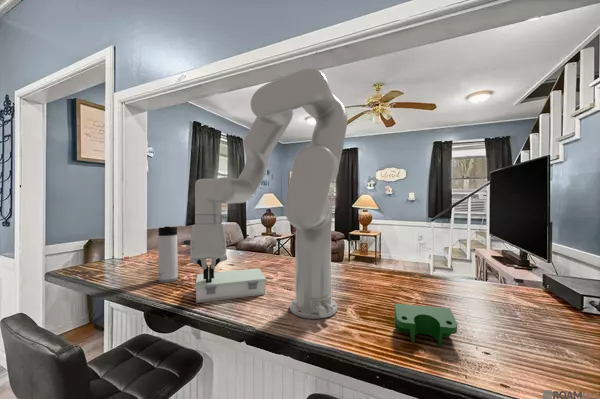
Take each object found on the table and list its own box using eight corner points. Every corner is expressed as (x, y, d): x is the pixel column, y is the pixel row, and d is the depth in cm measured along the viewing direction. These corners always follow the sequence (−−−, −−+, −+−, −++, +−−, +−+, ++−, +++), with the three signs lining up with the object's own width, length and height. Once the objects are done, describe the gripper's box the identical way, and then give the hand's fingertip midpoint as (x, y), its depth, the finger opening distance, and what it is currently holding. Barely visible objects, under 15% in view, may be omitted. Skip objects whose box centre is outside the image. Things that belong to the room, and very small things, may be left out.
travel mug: (157, 284, 91) (156, 227, 91) (159, 278, 97) (159, 225, 97) (176, 282, 93) (176, 226, 93) (178, 276, 99) (177, 224, 99)
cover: (267, 282, 79) (267, 279, 79) (195, 290, 72) (194, 287, 72) (259, 270, 92) (259, 268, 92) (197, 276, 85) (197, 273, 85)
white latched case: (266, 295, 79) (266, 282, 79) (195, 303, 73) (195, 290, 73) (259, 282, 91) (258, 271, 91) (198, 289, 85) (198, 277, 85)
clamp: (406, 360, 54) (389, 323, 53) (403, 338, 59) (387, 305, 58) (468, 348, 50) (450, 309, 49) (458, 326, 56) (442, 291, 55)
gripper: (233, 218, 84) (233, 275, 84) (182, 220, 79) (183, 280, 79) (235, 220, 76) (235, 282, 76) (179, 221, 72) (180, 288, 72)
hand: (208, 281), depth 78 cm, fingers closed
